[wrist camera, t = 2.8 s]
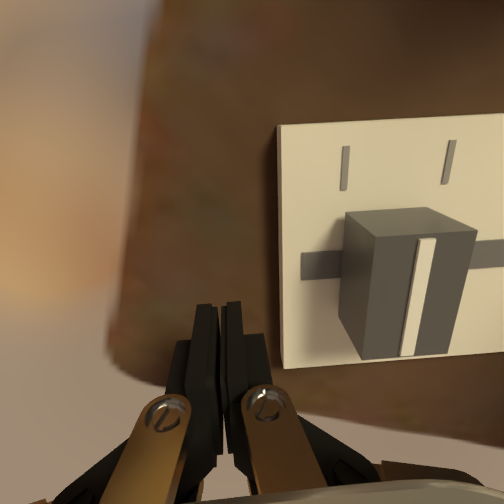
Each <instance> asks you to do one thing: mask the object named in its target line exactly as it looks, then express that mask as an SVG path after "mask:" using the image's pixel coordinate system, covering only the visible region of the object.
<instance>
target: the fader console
mask: <svg viewBox="0 0 504 504" xmlns="http://www.w3.org/2000/svg"><path fill="white" fill-rule="evenodd" d="M277 172H278V234H279V296H280V353H281V358H282V363H283V368H284V369H291V368H303V367H316V366H329V365H341V364H354V363H366V362H379V361H392V360H404V359H417V358H429V357H442V356H454V355H467V354H480V353H492V352H504V113H496V114H477V115H459V116H440V117H421V118H403V119H384V120H365V121H346V122H328V123H309V124H290V125H277ZM415 207H428V208H430V209H432V210H435V211H437V212H439V213H441V214H443V215H446V216H448V217H450V218H452V219H455V220H457V221H459V222H461V223H463V224H466V225H468V226H470V227H472V228H474V229H477V230H478V233H477V237H476V241H475V245H474V249H473V253H472V257H471V261H470V265H469V269H468V273H467V277H466V281H465V285H464V289H463V293H462V297H461V301H460V305H459V309H458V313H457V317H456V321H455V325H454V330H453V334H452V338H451V342H450V346H449V350H448V354H437V355H425V356H412V357H400V358H387V359H374V360H361V358H360V356H359V355H358V353H357V351H356V349H355V347H354V345H353V343H352V341H351V340H350V338H349V336H348V334H347V332H346V330H345V328H344V326H343V325H342V323H341V321H340V319H339V317H338V308H339V294H340V280H341V266H342V252H343V238H344V224H345V212H352V211H368V210H384V209H399V208H415Z"/></svg>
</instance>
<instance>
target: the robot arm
mask: <svg viewBox="0 0 504 504" xmlns="http://www.w3.org/2000/svg"><path fill="white" fill-rule="evenodd" d="M223 413H224V422H225V430H226V439H227V448H228V454H231V453H233V455H234V465H235V467H236V468H238V469H239V470H240V471H241V472H242V473H243V474H244V475H246V476H247V481H248V487H249V492H250V496H244V497H235V498H227V499H218V500H209V501H201V498H202V493H203V484H204V481H203V479H204V478H205V477H206V476H207V474H208V473H209V472H210V471H211V470H212V469H213V468H214V467H217V466H216V465H217V455H223ZM30 504H504V492H502V491H498V490H495V489H491V488H488V487H485V486H484V485H483V484H481V483H480V482H479V481H478V480H477V479H476V478H474V477H472V476H471V475H469V474H467V473H465V472H462V471H458V470H455V469H447V468H438V467H430V466H423V465H415V464H407V463H399V462H390V461H383V460H382V461H381V464H372V463H371V462H370V461H369V460H367V459H366V458H365V457H364V456H362V455H361V454H359V453H358V452H356V451H355V450H353V449H351V448H350V447H348V446H347V445H345V444H344V443H342V442H340V441H339V440H337V439H336V438H334V437H332V436H331V435H329V434H328V433H326V432H324V431H323V430H321V429H320V428H318V427H316V426H315V425H313V424H312V423H310V422H309V421H307V420H305V419H304V418H302V417H301V416H299V415H297V413H296V411H295V408H294V406H293V404H292V401H291V399H290V397H289V396H288V394H287V393H286V392H285V391H284V390H283V389H281V388H279V387H277V386H275V385H273V383H272V377H271V372H270V366H269V361H268V355H267V350H266V344H265V338H264V334H263V333H260V334H248V335H243V323H242V311H241V301H235V302H227V306H222V307H221V336H220V327H219V318H218V309H217V307H212V304H199V305H197V308H196V314H195V320H194V327H193V333H192V339H191V340H181V341H177V343H176V346H175V351H174V355H173V360H172V364H171V369H170V373H169V378H168V382H167V386H166V391H165V395H162V396H159V397H157V398H155V399H154V400H152V401H150V402H149V403H148V404H147V405H146V406H145V407H144V409H143V410H142V412H141V414H140V416H139V418H138V420H137V422H136V424H135V426H134V429H133V431H132V433H131V435H130V437H129V438H128V439H127V440H125V441H124V442H123V443H122V444H121V445H119V446H118V447H117V448H115V449H114V450H113V451H112V452H110V453H109V454H108V455H107V456H105V457H104V458H103V459H102V460H100V461H99V462H98V463H97V464H95V465H94V466H93V467H91V468H90V469H89V470H88V471H86V472H85V473H84V474H83V475H82V476H80V477H79V478H78V479H76V480H75V481H74V482H73V483H71V484H70V485H69V486H68V487H66V488H65V489H64V490H63V491H62V492H61V493H60V494H59V495H58V496H57V497H56V498H55V499H54V501H51V502H48V503H47V502H46V499H43V500H39V501H36V502H33V503H30Z"/></svg>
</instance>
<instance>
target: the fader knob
mask: <svg viewBox="0 0 504 504" xmlns="http://www.w3.org/2000/svg"><path fill="white" fill-rule="evenodd" d="M477 233H478V230H477V229H474V228H472V227H470V226H468V225H466V224H463V223H461V222H459V221H457V220H455V219H452V218H450V217H448V216H446V215H443V214H441V213H439V212H437V211H435V210H432V209H430V208H428V207H415V208H399V209H384V210H368V211H352V212H345V224H344V238H343V252H342V266H341V280H340V294H339V308H338V317H339V319H340V321H341V323H342V325H343V326H344V328H345V330H346V332H347V334H348V336H349V338H350V340H351V341H352V343H353V345H354V347H355V349H356V351H357V353H358V355H359V356H360V358H361V360H374V359H387V358H400V357H412V356H425V355H437V354H448V350H449V346H450V342H451V338H452V334H453V330H454V325H455V321H456V317H457V313H458V309H459V305H460V301H461V297H462V293H463V289H464V285H465V281H466V277H467V273H468V269H469V265H470V261H471V257H472V253H473V249H474V245H475V241H476V237H477Z"/></svg>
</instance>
